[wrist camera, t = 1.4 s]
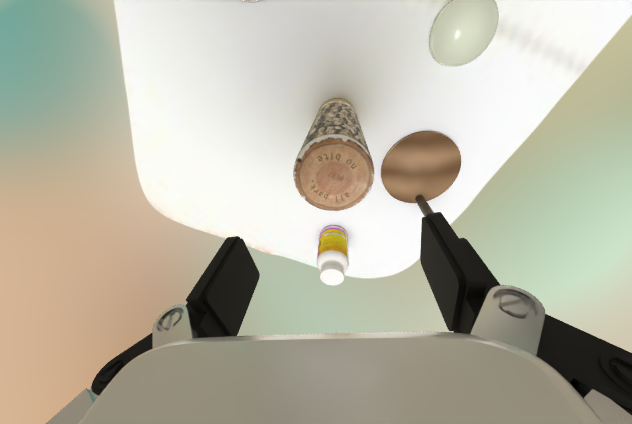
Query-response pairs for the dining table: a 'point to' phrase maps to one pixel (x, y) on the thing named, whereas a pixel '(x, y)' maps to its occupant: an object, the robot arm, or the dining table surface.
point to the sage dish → (463, 31)
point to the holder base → (421, 168)
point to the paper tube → (334, 159)
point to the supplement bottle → (332, 255)
